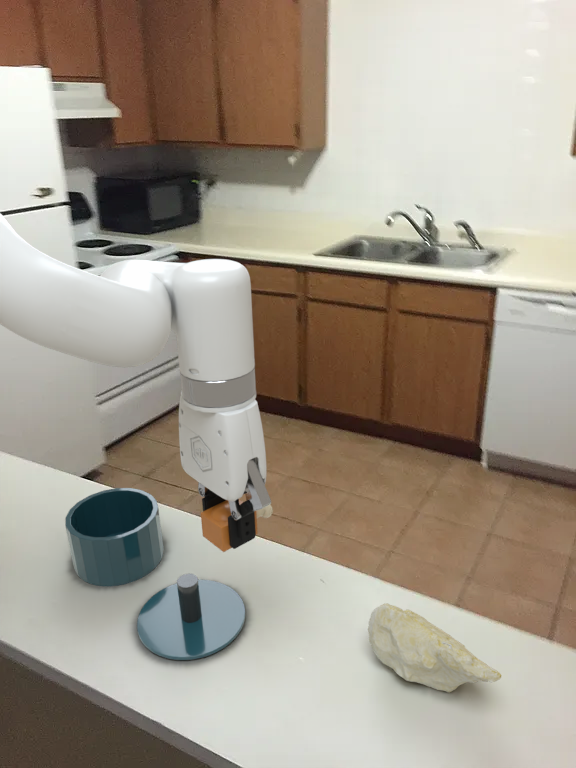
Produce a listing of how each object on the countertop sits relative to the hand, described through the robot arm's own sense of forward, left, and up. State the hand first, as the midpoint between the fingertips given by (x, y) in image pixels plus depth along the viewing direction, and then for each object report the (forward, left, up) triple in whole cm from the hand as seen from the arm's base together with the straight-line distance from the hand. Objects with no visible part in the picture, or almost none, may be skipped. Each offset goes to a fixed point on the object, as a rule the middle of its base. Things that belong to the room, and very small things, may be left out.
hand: (229, 531), depth 75 cm
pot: (+15, +27, -21) cm, 37 cm away
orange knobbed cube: (+2, -1, -1) cm, 2 cm away
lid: (+6, +10, -20) cm, 23 cm away
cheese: (+7, -23, -21) cm, 32 cm away
